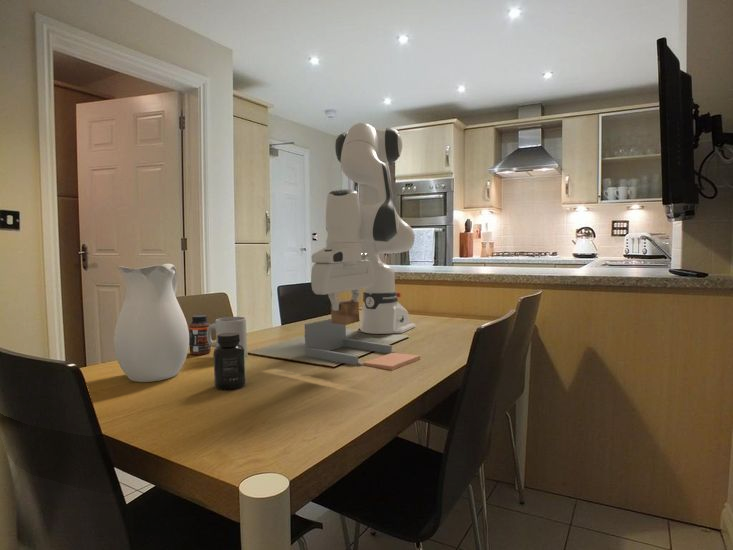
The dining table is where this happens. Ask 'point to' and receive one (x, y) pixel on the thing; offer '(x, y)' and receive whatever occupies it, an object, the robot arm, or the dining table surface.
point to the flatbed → (336, 343)
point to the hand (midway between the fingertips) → (345, 308)
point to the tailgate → (392, 361)
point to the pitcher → (151, 325)
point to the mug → (229, 330)
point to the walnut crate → (346, 313)
